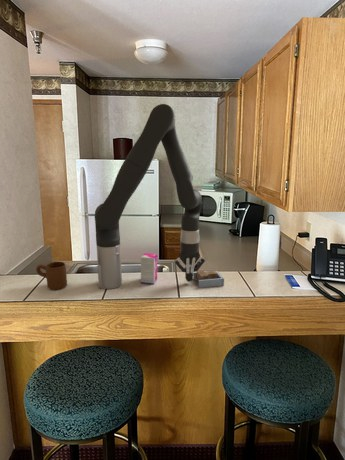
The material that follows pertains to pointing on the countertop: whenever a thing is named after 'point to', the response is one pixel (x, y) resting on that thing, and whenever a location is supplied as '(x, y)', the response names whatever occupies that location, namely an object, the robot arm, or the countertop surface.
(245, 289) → the countertop surface
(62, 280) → the mug
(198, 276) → the tee
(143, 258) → the supplement box
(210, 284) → the pocket fence
